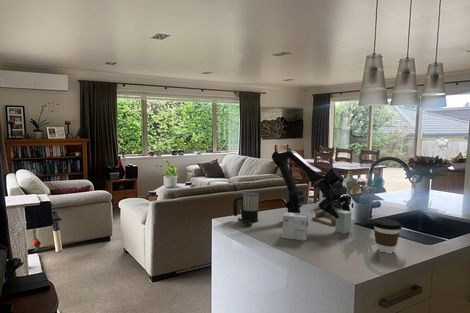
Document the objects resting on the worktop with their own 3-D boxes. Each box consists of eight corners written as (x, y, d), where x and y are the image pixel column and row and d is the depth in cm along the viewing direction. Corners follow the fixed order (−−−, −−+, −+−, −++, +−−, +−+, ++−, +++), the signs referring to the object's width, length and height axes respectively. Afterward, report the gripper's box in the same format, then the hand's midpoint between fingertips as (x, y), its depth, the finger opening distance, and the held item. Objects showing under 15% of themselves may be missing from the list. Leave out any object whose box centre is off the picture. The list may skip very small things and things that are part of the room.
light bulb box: (307, 236, 153) (308, 213, 152) (305, 241, 147) (306, 217, 146) (284, 234, 157) (285, 211, 156) (281, 238, 150) (282, 215, 149)
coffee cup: (386, 257, 129) (388, 227, 128) (365, 248, 139) (366, 220, 138) (406, 253, 134) (408, 224, 133) (384, 244, 144) (386, 217, 143)
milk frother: (254, 217, 185) (254, 191, 184) (267, 225, 170) (267, 196, 169) (230, 219, 180) (230, 192, 179) (241, 228, 165) (241, 198, 164)
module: (343, 234, 158) (344, 213, 157) (335, 231, 162) (336, 211, 161) (350, 232, 161) (351, 211, 160) (342, 229, 165) (342, 209, 164)
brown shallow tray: (330, 225, 171) (330, 217, 171) (312, 219, 182) (312, 212, 181) (342, 222, 177) (343, 214, 177) (324, 217, 187) (324, 209, 187)
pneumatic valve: (333, 211, 202) (334, 191, 201) (316, 208, 209) (316, 189, 208) (337, 209, 206) (338, 190, 205) (319, 206, 213) (320, 187, 212)
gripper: (323, 182, 158) (342, 210, 150) (348, 179, 168) (367, 205, 160) (310, 196, 165) (327, 223, 157) (335, 192, 176) (352, 217, 167)
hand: (344, 216), depth 160 cm, fingers open, 9 cm apart
